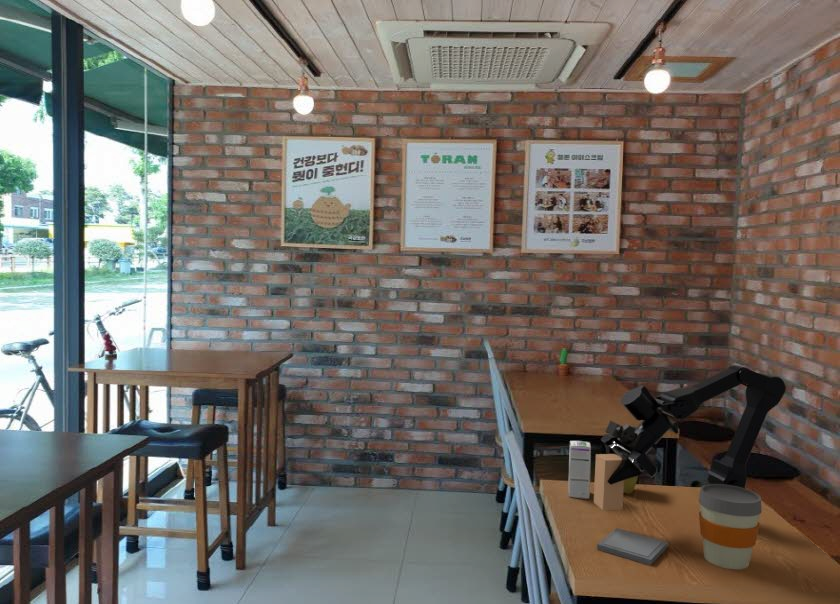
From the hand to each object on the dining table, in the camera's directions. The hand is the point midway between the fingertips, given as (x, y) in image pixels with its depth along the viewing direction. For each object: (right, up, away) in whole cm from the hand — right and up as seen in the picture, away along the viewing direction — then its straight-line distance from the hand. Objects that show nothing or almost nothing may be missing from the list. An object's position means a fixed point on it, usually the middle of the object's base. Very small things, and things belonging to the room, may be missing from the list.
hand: (603, 479), depth 159 cm
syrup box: (0, -11, +25) cm, 28 cm away
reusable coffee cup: (+23, -14, -14) cm, 30 cm away
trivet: (+4, -13, -9) cm, 17 cm away
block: (+1, -7, +1) cm, 7 cm away
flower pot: (+14, -11, +30) cm, 35 cm away
